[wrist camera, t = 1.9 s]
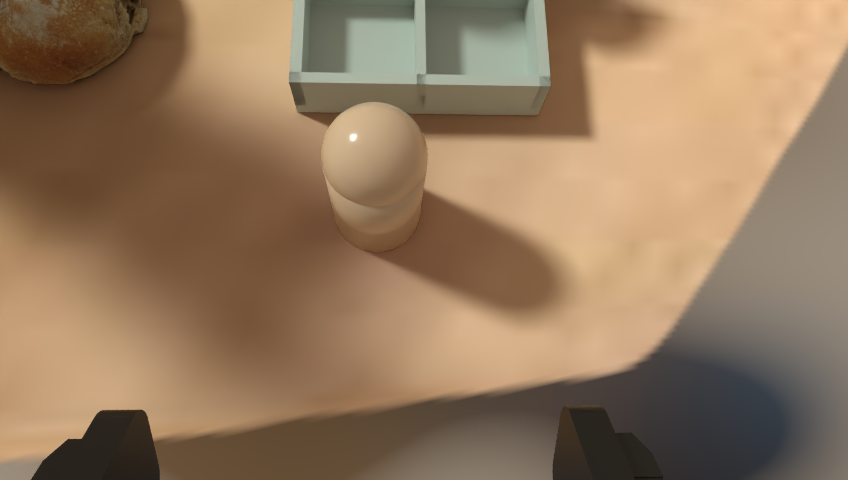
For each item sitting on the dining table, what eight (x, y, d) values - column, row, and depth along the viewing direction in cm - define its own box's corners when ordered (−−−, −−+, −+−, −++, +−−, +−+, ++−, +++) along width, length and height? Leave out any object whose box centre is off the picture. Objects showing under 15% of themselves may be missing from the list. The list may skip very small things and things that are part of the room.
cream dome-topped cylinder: (318, 225, 34) (292, 150, 25) (362, 157, 35) (354, 63, 26) (392, 267, 34) (394, 207, 25) (434, 197, 35) (451, 114, 26)
